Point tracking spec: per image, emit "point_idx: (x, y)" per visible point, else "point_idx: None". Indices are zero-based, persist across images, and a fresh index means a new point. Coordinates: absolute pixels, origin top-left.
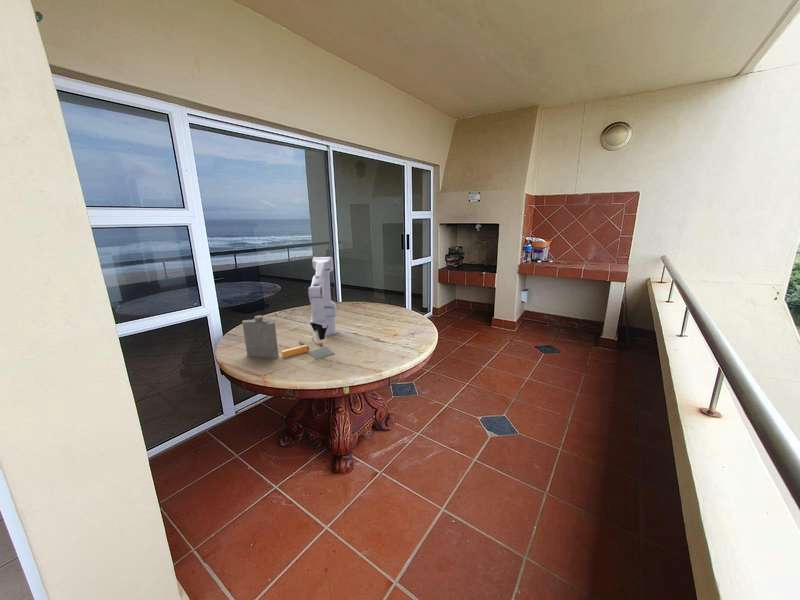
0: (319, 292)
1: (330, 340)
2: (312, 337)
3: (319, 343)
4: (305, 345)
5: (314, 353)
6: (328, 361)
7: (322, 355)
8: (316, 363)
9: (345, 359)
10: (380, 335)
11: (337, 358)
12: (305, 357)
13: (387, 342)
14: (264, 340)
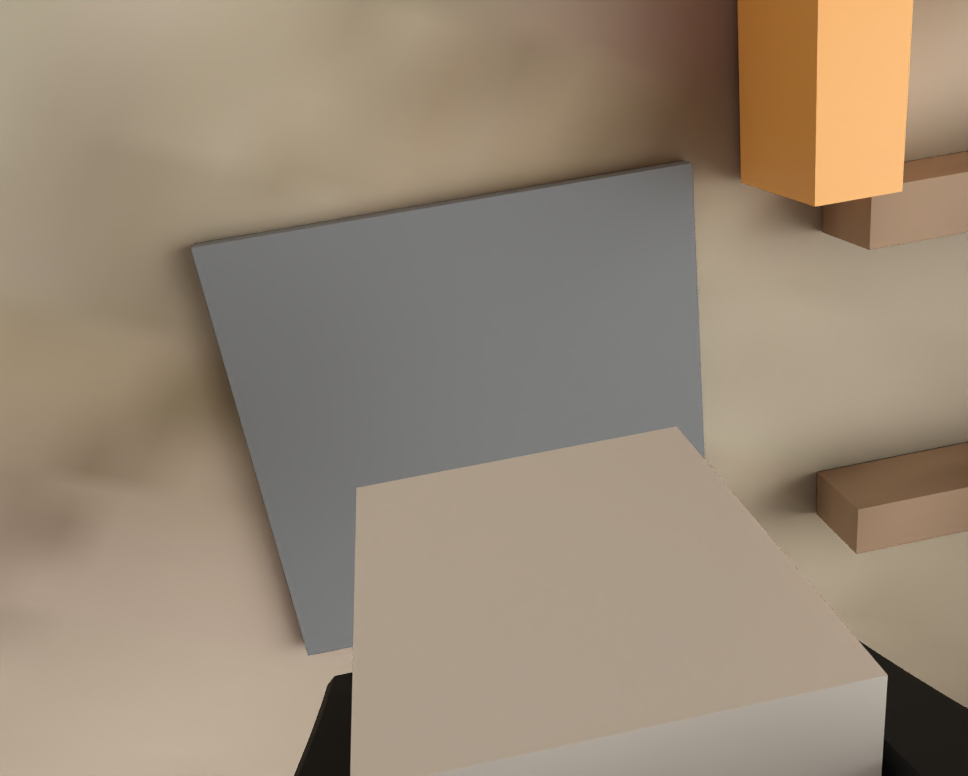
0: None
1: (945, 676)
2: None
3: (876, 496)
4: (859, 166)
5: (524, 295)
6: (23, 475)
7: (336, 428)
8: (6, 221)
9: (4, 754)
10: None
11: (105, 647)
12: (457, 53)
13: None
14: None
